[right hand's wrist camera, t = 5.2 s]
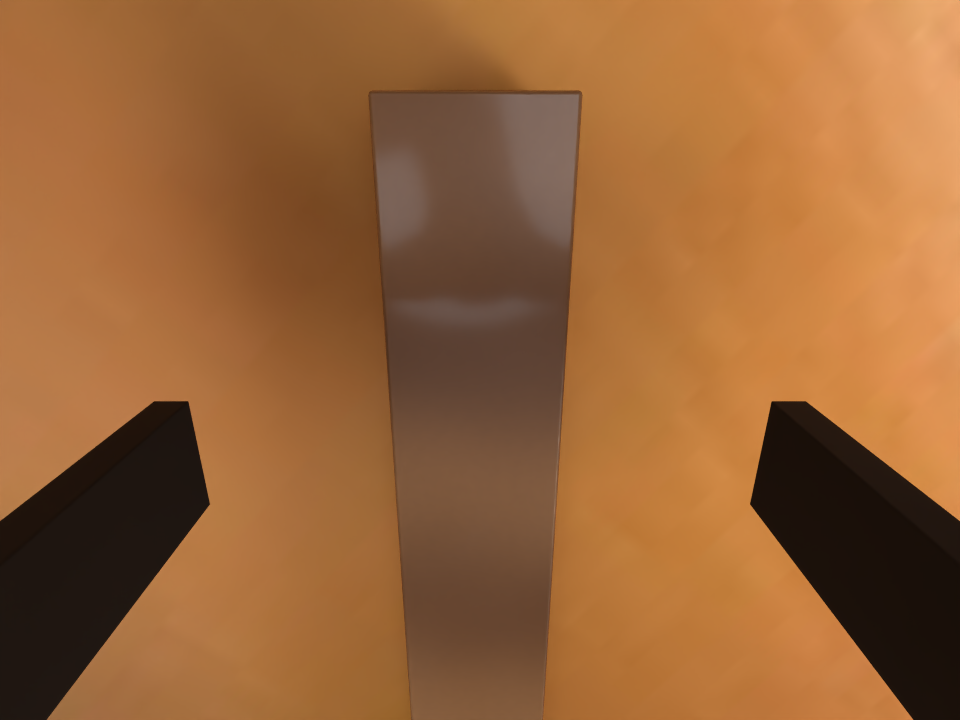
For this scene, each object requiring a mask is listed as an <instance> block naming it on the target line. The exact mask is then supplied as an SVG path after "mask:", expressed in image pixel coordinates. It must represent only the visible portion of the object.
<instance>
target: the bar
mask: <svg viewBox="0 0 960 720" xmlns="http://www.w3.org/2000/svg"><path fill="white" fill-rule="evenodd" d="M581 107H582V93H581V92H580V91H370V92H369V109H370V123H371V138H372V152H373V167H374V182H375V196H376V211H377V225H378V240H379V254H380V269H381V283H382V298H383V312H384V327H385V342H386V356H387V371H388V385H389V400H390V414H391V429H392V443H393V458H394V473H395V487H396V502H397V516H398V531H399V545H400V560H401V574H402V589H403V603H404V618H405V633H406V647H407V662H408V676H409V691H410V705H411V720H543V709H544V693H545V677H546V661H547V646H548V630H549V614H550V598H551V582H552V566H553V551H554V535H555V519H556V503H557V487H558V471H559V456H560V440H561V424H562V408H563V392H564V376H565V361H566V345H567V329H568V313H569V297H570V281H571V266H572V250H573V234H574V218H575V202H576V187H577V171H578V155H579V139H580V123H581Z"/></svg>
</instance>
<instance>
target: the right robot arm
mask: <svg viewBox="0 0 960 720" xmlns="http://www.w3.org/2000/svg"><path fill="white" fill-rule="evenodd" d="M209 505H210V502H209V498H208V493H207V488H206V483H205V479H204V474H203V469H202V464H201V460H200V455H199V450H198V445H197V441H196V436H195V431H194V426H193V422H192V417H191V412H190V407H189V403H188V401H154V402H153V403H152V404H150V405H149V406H148V407H146V408H145V409H144V410H143V411H141V412H140V413H139V414H137V415H136V416H135V417H134V418H132V419H131V420H130V421H128V422H127V423H126V424H125V425H123V426H122V427H121V428H119V429H118V430H117V431H116V432H114V433H113V434H112V435H110V436H109V437H108V438H107V439H105V440H104V441H103V442H101V443H100V444H99V445H98V446H96V447H95V448H94V449H92V450H91V451H90V452H89V453H87V454H86V455H85V456H83V457H82V458H81V459H80V460H78V461H77V462H76V463H74V464H73V465H72V466H71V467H69V468H68V469H67V470H65V471H64V472H63V473H62V474H60V475H59V476H58V477H56V478H55V479H54V480H53V481H51V482H50V483H49V484H47V485H46V486H45V487H44V488H42V489H41V490H40V491H38V492H37V493H36V494H35V495H33V496H32V497H31V498H29V499H28V500H27V501H26V502H24V503H23V504H22V505H20V506H19V507H18V508H17V509H15V510H14V511H13V512H11V513H10V514H9V515H8V516H6V517H5V518H4V519H2V520H1V521H0V720H47V718H48V717H49V716H50V714H51V713H52V712H53V711H54V709H55V708H56V707H57V705H58V704H59V703H60V701H61V700H62V699H63V697H64V696H65V695H66V693H67V692H68V691H69V689H70V688H71V687H72V685H73V684H74V683H75V682H76V680H77V679H78V678H79V676H80V675H81V674H82V672H83V671H84V670H85V668H86V667H87V666H88V664H89V663H90V662H91V660H92V659H93V658H94V656H95V655H96V654H97V652H98V651H99V650H100V649H101V647H102V646H103V645H104V643H105V642H106V641H107V639H108V638H109V637H110V635H111V634H112V633H113V631H114V630H115V629H116V627H117V626H118V625H119V623H120V622H121V621H122V620H123V618H124V617H125V616H126V614H127V613H128V612H129V610H130V609H131V608H132V606H133V605H134V604H135V602H136V601H137V600H138V598H139V597H140V596H141V594H142V593H143V592H144V590H145V589H146V588H147V587H148V585H149V584H150V583H151V581H152V580H153V579H154V577H155V576H156V575H157V573H158V572H159V571H160V569H161V568H162V567H163V565H164V564H165V563H166V561H167V560H168V559H169V558H170V556H171V555H172V554H173V552H174V551H175V550H176V548H177V547H178V546H179V544H180V543H181V542H182V540H183V539H184V538H185V536H186V535H187V534H188V532H189V531H190V530H191V528H192V527H193V526H194V525H195V523H196V522H197V521H198V519H199V518H200V517H201V515H202V514H203V513H204V511H205V510H206V509H207V507H208V506H209ZM750 505H751V506H752V507H753V509H754V510H755V511H756V513H757V514H758V515H759V517H760V518H761V519H762V521H763V522H764V523H765V525H766V526H767V527H768V528H769V530H770V531H771V532H772V534H773V535H774V536H775V538H776V539H777V540H778V542H779V543H780V544H781V546H782V547H783V548H784V550H785V551H786V552H787V554H788V555H789V556H790V558H791V559H792V560H793V561H794V563H795V564H796V565H797V567H798V568H799V569H800V571H801V572H802V573H803V575H804V576H805V577H806V579H807V580H808V581H809V583H810V584H811V585H812V587H813V588H814V589H815V590H816V592H817V593H818V594H819V596H820V597H821V598H822V600H823V601H824V602H825V604H826V605H827V606H828V608H829V609H830V610H831V612H832V613H833V614H834V616H835V617H836V618H837V620H838V621H839V622H840V623H841V625H842V626H843V627H844V629H845V630H846V631H847V633H848V634H849V635H850V637H851V638H852V639H853V641H854V642H855V643H856V645H857V646H858V647H859V649H860V650H861V651H862V652H863V654H864V655H865V656H866V658H867V659H868V660H869V662H870V663H871V664H872V666H873V667H874V668H875V670H876V671H877V672H878V674H879V675H880V676H881V678H882V679H883V680H884V682H885V683H886V684H887V685H888V687H889V688H890V689H891V691H892V692H893V693H894V695H895V696H896V697H897V699H898V700H899V701H900V703H901V704H902V705H903V707H904V708H905V709H906V711H907V712H908V713H909V714H910V716H911V717H912V718H913V720H960V521H959V520H958V519H956V518H955V517H954V516H952V515H951V514H950V513H949V512H947V511H946V510H945V509H943V508H942V507H941V506H940V505H938V504H937V503H936V502H934V501H933V500H932V499H931V498H929V497H928V496H927V495H925V494H924V493H923V492H922V491H920V490H919V489H918V488H916V487H915V486H914V485H913V484H911V483H910V482H909V481H907V480H906V479H905V478H904V477H902V476H901V475H900V474H898V473H897V472H896V471H895V470H893V469H892V468H891V467H889V466H888V465H887V464H886V463H884V462H883V461H882V460H880V459H879V458H878V457H877V456H875V455H874V454H873V453H871V452H870V451H869V450H868V449H866V448H865V447H864V446H862V445H861V444H860V443H859V442H857V441H856V440H855V439H853V438H852V437H851V436H850V435H848V434H847V433H846V432H844V431H843V430H842V429H841V428H839V427H838V426H837V425H835V424H834V423H833V422H832V421H830V420H829V419H828V418H826V417H825V416H824V415H823V414H821V413H820V412H819V411H817V410H816V409H815V408H814V407H812V406H811V405H810V404H808V403H807V402H806V401H772V403H771V407H770V412H769V417H768V422H767V426H766V431H765V436H764V441H763V445H762V450H761V455H760V460H759V464H758V469H757V474H756V479H755V483H754V488H753V493H752V498H751V502H750Z"/></svg>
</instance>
